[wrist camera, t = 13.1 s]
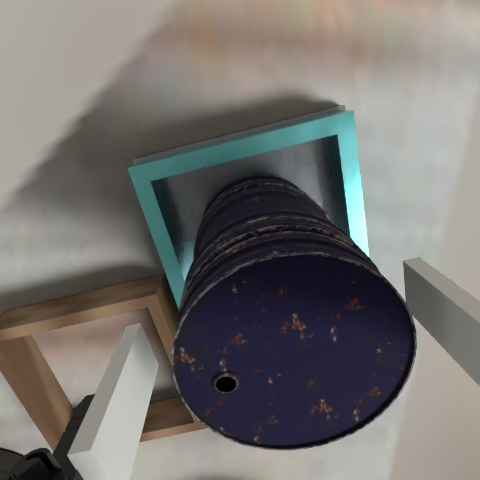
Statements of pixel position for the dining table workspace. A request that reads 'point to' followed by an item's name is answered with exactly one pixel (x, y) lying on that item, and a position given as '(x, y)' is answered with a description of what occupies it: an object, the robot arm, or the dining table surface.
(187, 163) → the teal square tray
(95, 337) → the dining table surface
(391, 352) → the navy oil drum
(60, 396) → the walnut holder
